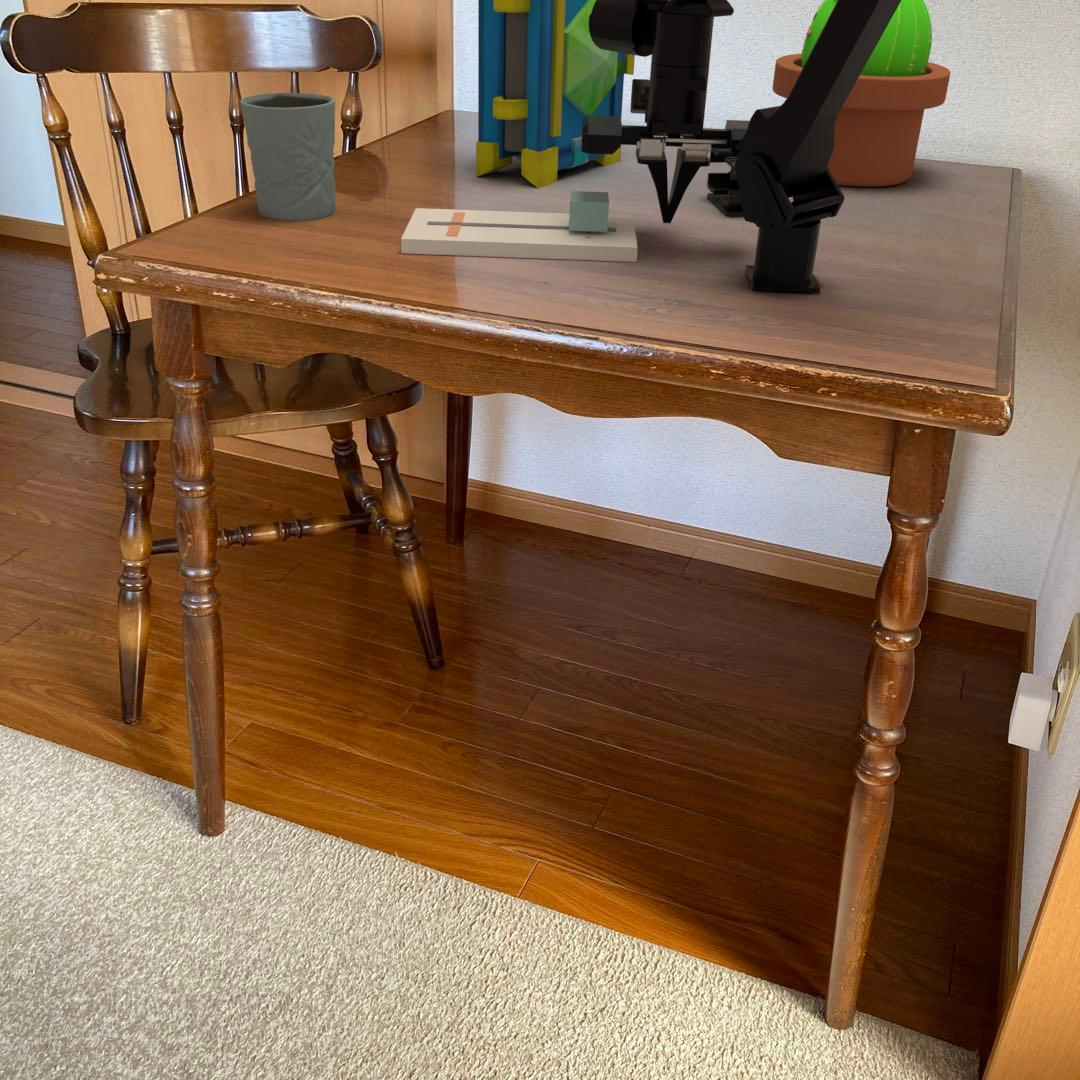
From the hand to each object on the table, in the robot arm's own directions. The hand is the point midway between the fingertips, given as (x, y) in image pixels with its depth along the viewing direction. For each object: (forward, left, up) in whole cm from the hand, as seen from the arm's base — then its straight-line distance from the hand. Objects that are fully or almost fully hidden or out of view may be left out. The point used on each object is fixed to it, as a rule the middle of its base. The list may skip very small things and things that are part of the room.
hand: (666, 222), depth 119 cm
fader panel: (0, +15, -2) cm, 15 cm away
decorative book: (+34, +13, -3) cm, 37 cm away
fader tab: (0, +8, -1) cm, 8 cm away
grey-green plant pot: (+9, +41, -3) cm, 42 cm away
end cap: (+18, -11, -3) cm, 21 cm away
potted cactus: (+38, -27, -3) cm, 46 cm away
